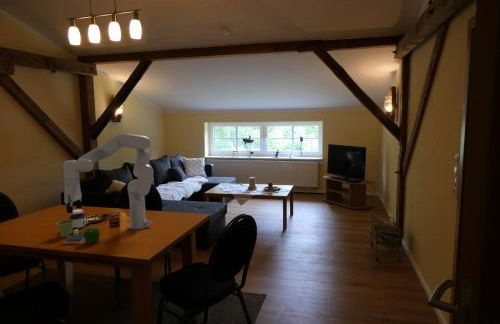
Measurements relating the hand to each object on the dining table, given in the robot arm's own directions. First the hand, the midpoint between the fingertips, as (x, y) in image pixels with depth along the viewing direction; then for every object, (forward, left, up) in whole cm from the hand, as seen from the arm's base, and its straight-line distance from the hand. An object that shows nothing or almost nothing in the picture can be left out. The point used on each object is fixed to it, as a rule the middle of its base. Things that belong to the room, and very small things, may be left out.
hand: (74, 210), depth 190 cm
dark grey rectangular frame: (0, 0, -17) cm, 17 cm away
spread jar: (+13, -25, -18) cm, 34 cm away
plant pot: (+11, -9, -18) cm, 23 cm away
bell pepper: (-11, +3, -18) cm, 21 cm away
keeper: (0, 0, -18) cm, 18 cm away
